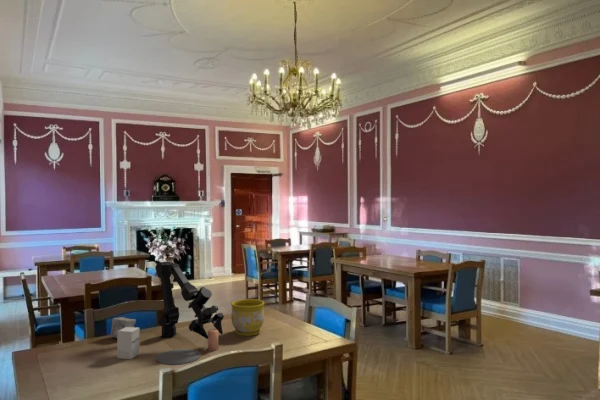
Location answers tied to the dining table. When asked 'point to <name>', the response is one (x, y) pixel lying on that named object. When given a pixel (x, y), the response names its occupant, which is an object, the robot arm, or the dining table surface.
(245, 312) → the flowerpot
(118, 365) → the dining table surface
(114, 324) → the incense holder
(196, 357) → the mat
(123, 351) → the supplement box
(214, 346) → the salt shaker
